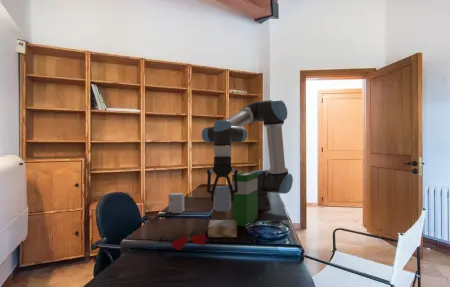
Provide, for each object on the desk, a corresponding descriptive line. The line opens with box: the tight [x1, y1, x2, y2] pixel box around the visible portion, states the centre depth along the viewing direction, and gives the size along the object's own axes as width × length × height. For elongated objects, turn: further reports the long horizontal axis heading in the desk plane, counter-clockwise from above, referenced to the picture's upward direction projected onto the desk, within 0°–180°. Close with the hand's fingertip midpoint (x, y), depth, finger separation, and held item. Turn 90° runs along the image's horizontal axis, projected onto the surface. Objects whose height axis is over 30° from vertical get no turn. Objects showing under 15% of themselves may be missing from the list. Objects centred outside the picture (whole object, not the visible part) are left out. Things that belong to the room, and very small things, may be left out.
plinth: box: [207, 219, 238, 238], centre depth 129 cm, size 12×12×4 cm
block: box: [214, 185, 230, 212], centre depth 129 cm, size 6×6×10 cm
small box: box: [167, 192, 185, 214], centre depth 168 cm, size 8×6×10 cm
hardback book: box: [231, 171, 258, 227], centre depth 148 cm, size 18×7×24 cm, turn 157°
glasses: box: [160, 230, 208, 251], centre depth 117 cm, size 14×16×5 cm
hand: (222, 208), depth 129 cm, fingers closed on block, 6 cm apart
